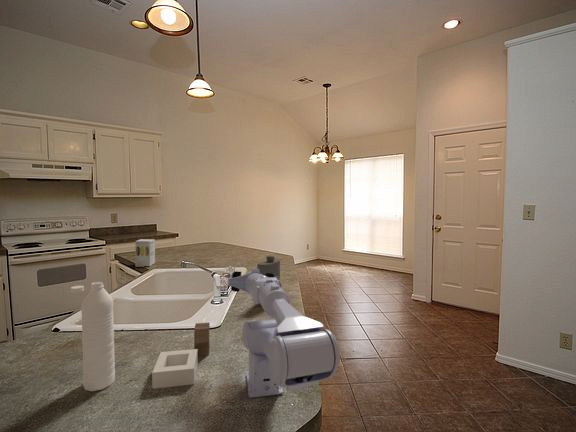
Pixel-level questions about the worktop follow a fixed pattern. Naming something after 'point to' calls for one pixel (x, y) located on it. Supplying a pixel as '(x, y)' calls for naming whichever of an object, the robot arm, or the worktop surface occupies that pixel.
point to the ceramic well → (175, 368)
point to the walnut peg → (201, 338)
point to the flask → (270, 267)
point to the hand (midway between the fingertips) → (248, 279)
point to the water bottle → (97, 337)
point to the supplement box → (144, 252)
